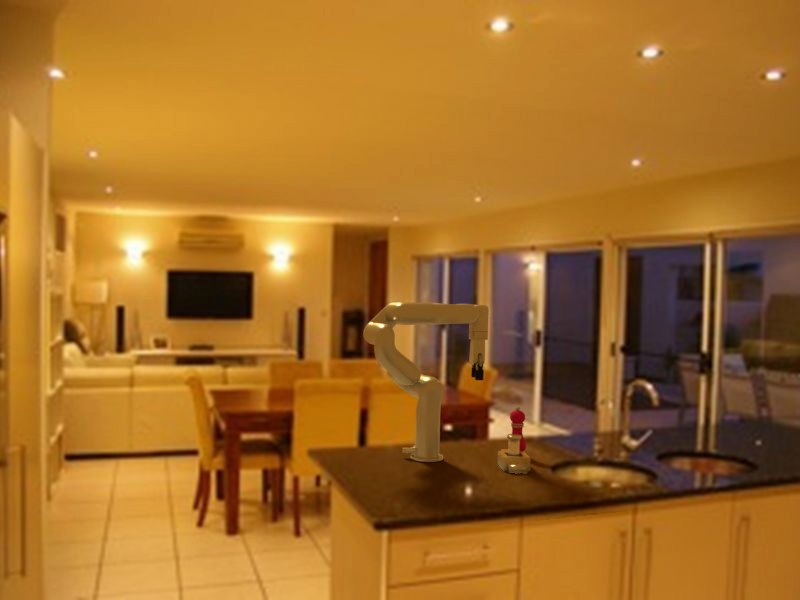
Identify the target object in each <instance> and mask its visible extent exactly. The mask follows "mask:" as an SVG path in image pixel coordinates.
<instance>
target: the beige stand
mask: <svg viewBox="0 0 800 600" xmlns="http://www.w3.org/2000/svg"><path fill="white" fill-rule="evenodd" d="M498 465H499V466H498ZM497 466H498V468H499V469H502V470H503V471H502V470H501V471H502V472H508V474H510V473H515V474H514V475H521V474H520V473H523V474H522V475H527V474H528V473H529V472H528V471H530V472H531V456H529V455H528V453H526V452H525V451H523V452H520V451H519V456H508V448H501V450H500V451H499V450H498V451H497ZM518 473H519V474H518Z"/></svg>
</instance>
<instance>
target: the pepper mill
mask: <svg viewBox="0 0 800 600" xmlns="http://www.w3.org/2000/svg"><path fill="white" fill-rule="evenodd" d="M509 419H510V421H511V423H510V426H511V434H518V435H521V439H520V444H519V451H520V452H525V450H526V448H527V443H526V440H525V438H524V435H523V428H524V425H525V423H524V421H525V420H526V413H524V411H521V408H520V406H515V410H513V411H511V412H510V413H509ZM508 444H509V440H508V442H507V445H508Z"/></svg>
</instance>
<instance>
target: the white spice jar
mask: <svg viewBox="0 0 800 600" xmlns="http://www.w3.org/2000/svg"><path fill="white" fill-rule="evenodd" d="M506 438H507V439H508V441H509V444H508V443H507V449H508V456H519V444H520V439H521V435H518V434H512V433H508V434H506Z"/></svg>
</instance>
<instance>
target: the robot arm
mask: <svg viewBox="0 0 800 600" xmlns="http://www.w3.org/2000/svg"><path fill="white" fill-rule="evenodd" d="M489 312H490V311H489V306H488V305H486V304H471V303H456V304H455V303H453V304H452V303H441V302H440V303H439V302H431V301H430V302H400V301H398V302H396V301H395V302H391V303H388V304H387V305H386V306H384V307H383V308H382V309H381V310H380V311H379V312H378V313H377V314H376V315H375V316H374V317H373V318H371V320H370V321H369V322H368V323H367V324H366V325H365V327H364V329H363V339H364V341H365V342H367V344H370V345H374V346H373V351H374V357H375V359H376V361H377V363H378V364H379V365H380V366H381V367H382V368H383V369H385V370H386V371H387V376H388V378H389V379H390V380H391V382H393V383H394V384H395V385H397V386H398V387H399V388H400V389H402V390H403V391H405V392H406V393H407V394H409V395H410V396H412V397H413V398H416V399H418V401H417V404H416V407H415V423H414V424H415V425H414V426H415V429H414V430H415V431H414V445H413V446H411V447H402V453H404V454H405V453H406V454H410V459H411V460H413V461H417V462H423V463H436V462H441V461H443V459H444V455H443V454H441V453H440V442H441V441H440V440H441V438H440V437H441V432H440V431H441V407H442V402H443V401H442V400H443V396H444V386H443V384H442V382H441V381H440V380H439V379H438V378H436V377H434V376H430V375H426V374H423V373H422V372H421V369H420V368H419V366H418V365H417V364H416V363H415V362H414V361H412V360H411V359H410V358H408V357H407V356H405V354H403V353H402V352H401V351H399V350H398V349H397V347H396V343H395V341H396V340H395V337H396V335H395V331H394V328H395V326H397V325H399V326H400V325H401V326H411V325H412V326H413V325H414V326H415V325H418V326H419V325H420V326H421V325H424V326H425V325H427V326H428V325H429V326H430V325H431V326H432V325H435V326H436V325H455V324H456V325H458V324H459V325H461V324H462V325H466V324H468V329H469V330H468V340H470V345H469V358H468V359H469V360H468V361H469V363H470V364H471V375H470V377H471V378H474V380H475V381H484V374H485V373H484V372H485V371H484V364H485V362H486V341H487V340H489V315H490V313H489Z"/></svg>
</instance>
